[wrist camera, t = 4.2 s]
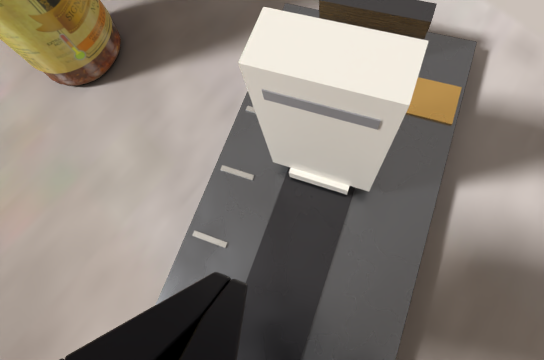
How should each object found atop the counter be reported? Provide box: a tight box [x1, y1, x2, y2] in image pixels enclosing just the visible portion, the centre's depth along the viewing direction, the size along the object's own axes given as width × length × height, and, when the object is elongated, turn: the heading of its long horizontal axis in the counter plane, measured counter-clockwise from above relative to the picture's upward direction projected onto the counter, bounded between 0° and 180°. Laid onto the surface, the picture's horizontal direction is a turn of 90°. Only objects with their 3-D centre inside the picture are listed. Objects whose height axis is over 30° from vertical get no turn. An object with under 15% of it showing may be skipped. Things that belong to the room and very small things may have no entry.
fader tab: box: [238, 7, 428, 195], centre depth 15 cm, size 3×5×9 cm, turn 70°
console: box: [156, 0, 477, 360], centre depth 19 cm, size 24×12×4 cm, turn 160°
